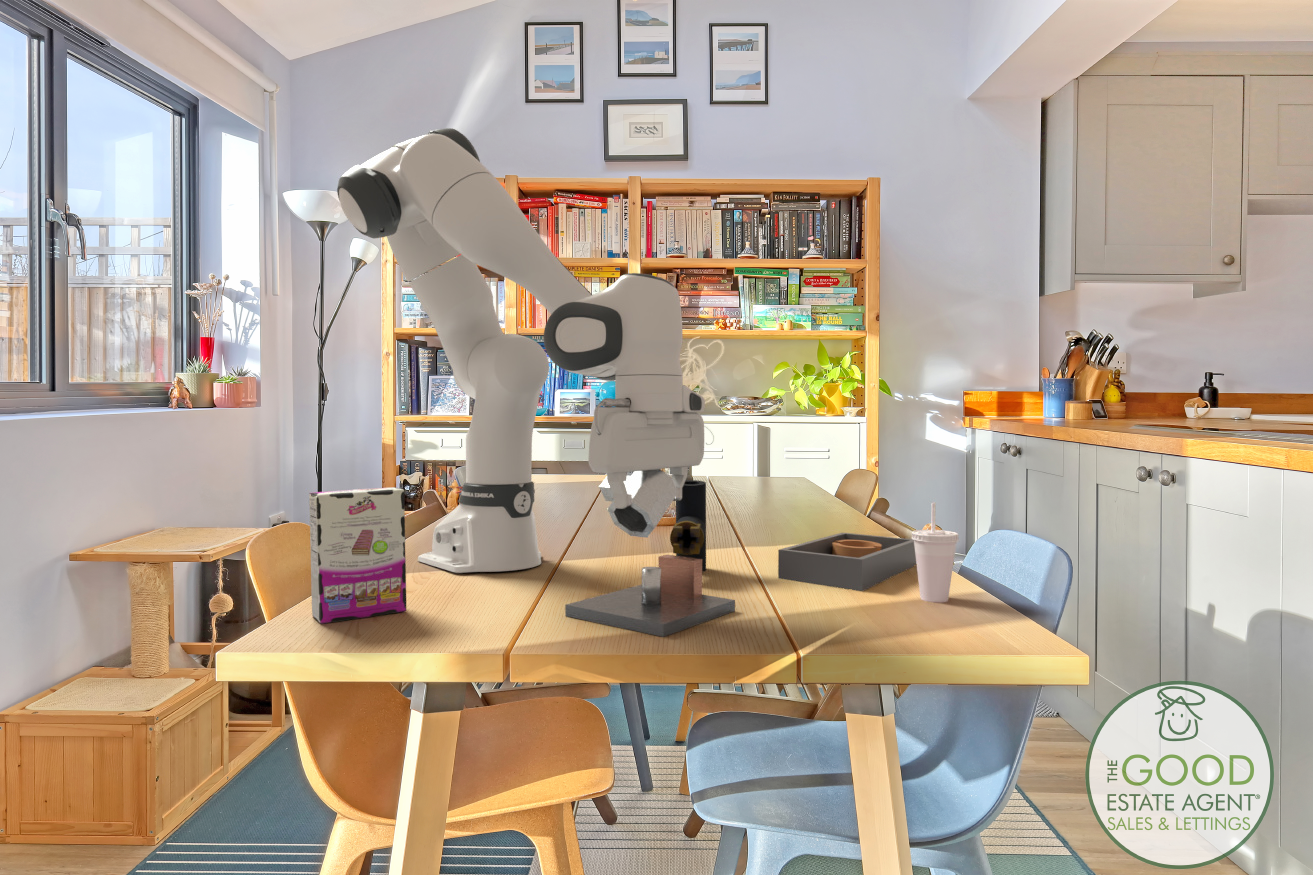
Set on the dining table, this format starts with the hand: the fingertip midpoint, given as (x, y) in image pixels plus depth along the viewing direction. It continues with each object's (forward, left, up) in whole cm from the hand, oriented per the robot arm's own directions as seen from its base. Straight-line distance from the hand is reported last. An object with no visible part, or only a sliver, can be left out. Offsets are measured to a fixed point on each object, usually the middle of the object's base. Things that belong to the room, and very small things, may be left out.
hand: (649, 504), depth 106 cm
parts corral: (+10, +41, -15) cm, 45 cm away
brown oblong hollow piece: (+3, +47, -17) cm, 50 cm away
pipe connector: (-10, +23, -15) cm, 29 cm away
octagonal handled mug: (-1, -3, -2) cm, 3 cm away
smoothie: (+27, +31, -15) cm, 44 cm away
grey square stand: (0, 0, -15) cm, 15 cm away
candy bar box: (-30, -24, -15) cm, 41 cm away
